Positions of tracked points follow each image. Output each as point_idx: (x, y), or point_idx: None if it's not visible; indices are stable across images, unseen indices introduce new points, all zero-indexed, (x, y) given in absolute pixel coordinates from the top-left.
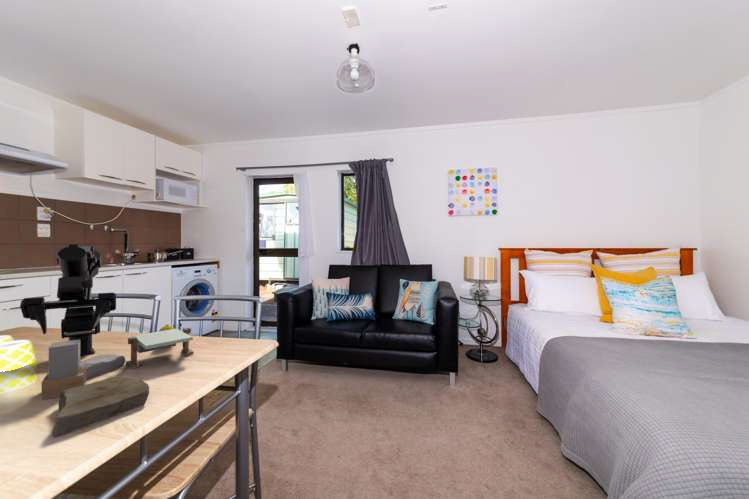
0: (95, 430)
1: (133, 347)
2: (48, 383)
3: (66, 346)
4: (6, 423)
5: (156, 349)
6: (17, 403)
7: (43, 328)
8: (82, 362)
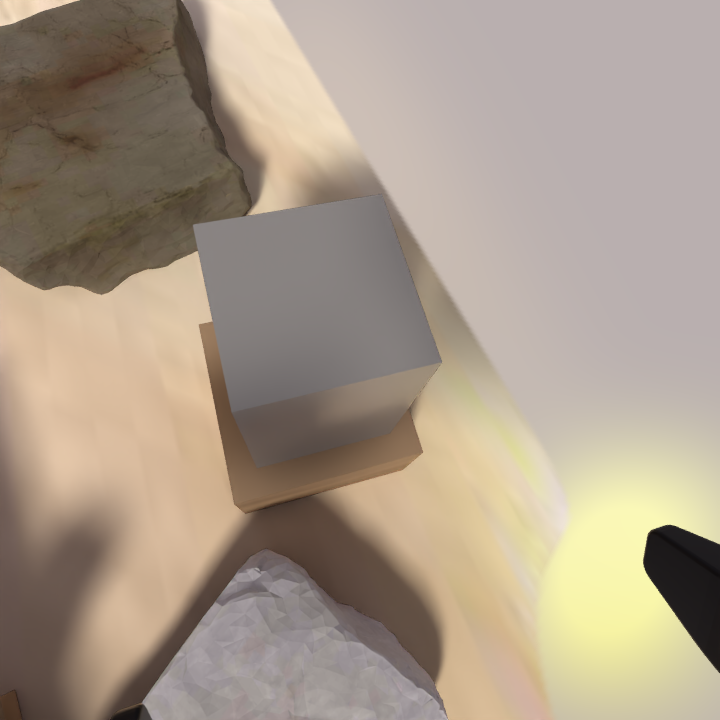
0: None
1: None
2: None
3: (274, 219)
4: (373, 169)
5: None
6: (440, 334)
7: (712, 549)
8: (290, 629)
